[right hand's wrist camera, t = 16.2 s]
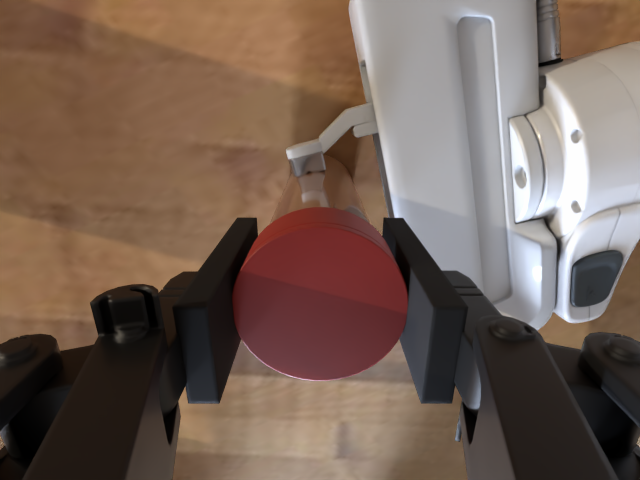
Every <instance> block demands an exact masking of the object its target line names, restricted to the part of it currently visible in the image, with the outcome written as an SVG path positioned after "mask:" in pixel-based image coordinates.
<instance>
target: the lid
mask: <svg viewBox="0 0 640 480" xmlns="http://www.w3.org/2000/svg"><path fill="white" fill-rule="evenodd" d="M232 303H233V314H234V322H235V326H236V329H237V331H238V333H239V336H240V337H241V339H242V341H243V342H244V344H245V345H246V346H247V348H248V349H249V350H250V351H251V352H252V353H253V354H254V355H255V356H256V357H257V358H258V359H259V360H260V361H262V362H263V363H264V364H266V365H267V366H269V367H271V368H272V369H274V370H276V371H278V372H280V373H283V374H285V375H288V376H291V377H294V378H299V379H304V380H313V381H328V380H337V379H341V378H346V377H349V376H352V375H355V374H358V373H360V372H362V371H364V370H366V369H368V368H370V367H371V366H373V365H375V364H376V363H377V362H379V361H380V360H381V359H382V358H384V357H385V356H386V355H387V354H388V353H389V352H390V351H391V349H392V348H393V347H394V345H395V344H396V343H397V341H398V339H399V338H400V336H401V334H402V332H403V329H404V327H405V324H406V318H407V308H408V291H407V286H406V283H405V280H404V278H403V275H402V273H401V271H400V269H399V267H398V265H397V262H396V260H395V258H394V256H393V254H392V252H391V250H390V248H389V246H388V244H387V243H386V241H385V239H384V238H383V237H382V236H381V234H380V233H379V232H378V231H377V230H376V229H375V228H374V227H373V226H372V225H371V224H369V223H368V222H367V221H365V220H364V219H362V218H360V217H358V216H357V215H355V214H352V213H350V212H347V211H344V210H340V209H336V208H328V207H311V208H304V209H300V210H297V211H293V212H291V213H288V214H286V215H283V216H282V217H280V218H278V219H277V220H275V221H274V222H272V223H271V224H270V225H268V226H267V227H266V228H265V229H264V230H263V231H262V232H261V233H260V234H259V236H258V237H257V239H256V240H255V241H254V243H253V245H252V247H251V249H250V251H249V253H248V255H247V257H246V259H245V261H244V263H243V265H242V267H241V269H240V271H239V273H238V275H237V278H236V281H235V284H234V287H233V292H232Z"/></svg>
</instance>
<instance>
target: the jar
mask: <svg viewBox="0 0 640 480" xmlns="http://www.w3.org/2000/svg"><path fill="white" fill-rule="evenodd" d="M324 160H325V164H326V170H323V171H320V172H314V173H312V172H310V171H308V172H307V174H306V175H303V176H300V177H293V173H291V175H290V177H289V179H288V182H287V184H286V187H285V189H284V191H283V194H282V196H281V198H280V201H279V203H278V205H277V208H276V210H275V212H274V215H273V217H272V219H271V222H270V224H271V223H272V222H274V221H275V220H277V219H278V218H280V217H282V216H283V215H286V214H288V213H291V212H293V211H297V210H300V209H304V208H311V207H328V208H336V209H340V210H344V211H347V212H350V213H352V214H355V215H357V216H358V217H360V218H362V219H364V220H365V221H367V222H368V223H369V224H370V221H369V219H368V217H367V214H366V212H365V209H364V207H363V205H362V202H361V200H360V198H359V195H358V193H357V191H356V188H355V186H354V184H353V181H352V179H351V177H350V174H349V172H348V170H347V169H346V167H345V166H344V165H343V164H342V163H341V162H340V161H338V160H337V159H335V158H333V157H331V156H327V155H324ZM270 224H269V225H270Z"/></svg>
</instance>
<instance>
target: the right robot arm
mask: <svg viewBox="0 0 640 480" xmlns="http://www.w3.org/2000/svg"><path fill="white" fill-rule="evenodd" d="M257 237H258V230H257V218H237V219H236V220H235V222H234V223H233V224H232V226H231V227H230V228H229V230H228V231H227V233H226V234H225V235H224V237H223V238H222V239H221V241H220V242H219V243H218V245H217V246H216V248H215V249H214V250H213V252H212V253H211V254H210V256H209V257H208V258H207V260H206V261H205V263H204V264H203V265H202V267H201V268H200V269H199V271H198V272H182V273H180V274H179V275H177V276H175V277H174V278H172V279H170V281H169V282H168V283H167V284H166V285H165V286H164V288H163V290H161V291H160V292H159V293H158V289H156V288H155V287H153V286H150V285H145V284H132V285H127V286H121V287H117V288H114V289H111V290H108V291H106V292H104V293H102V294H100V295H99V296H97V297H96V298H95V299H93V300H92V301H91V302H90V305H91V309H92V312H93V316H94V320H95V324H96V328H97V331H98V335H99V337H98V339H97V340H96V342H95V344H94V345H90V346H85V347H80V348H74V349H69V350H64V351H60V350H59V347H58V344H57V341H56V339H55V338H54V337H52V336H51V335H46V334H35V335H24V336H20V337H19V338H18V337H16V338H13V339H10V340H8V341H7V342H5V343H2V344H0V435H1V437H2V439H3V442H4V444H5V446H4V447H3V448H2V449H1V450H0V480H172V478H173V470H174V463H175V455H176V448H177V440H178V433H179V425H180V418H181V415H180V408H179V403H178V400H179V398H180V396H181V394H182V392H183V390H184V388H185V386H186V392H187V398H188V403H220V400H221V397H222V394H223V391H224V388H225V385H226V382H227V379H228V376H229V373H230V370H231V367H232V364H233V361H234V358H235V355H236V352H237V349H238V346H239V343H240V341H241V337H240V336H239V333H238V331H237V329H236V326H235V322H234V314H233V303H232V292H233V287H234V284H235V281H236V278H237V275H238V273H239V271H240V269H241V267H242V265H243V263H244V261H245V259H246V257H247V255H248V253H249V251H250V249H251V247H252V245H253V243H254V241H255V240H256V239H257ZM382 237H383V238H384V239H385V241H386V243H387V244H388V246H389V248H390V250H391V252H392V254H393V256H394V258H395V260H396V262H397V265H398V267H399V269H400V271H401V273H402V275H403V278H404V280H405V283H406V286H407V291H408V308H407V318H406V324H405V327H404V329H403V332H402V334H401V336H400V338H399V339H400V342H401V345H402V348H403V351H404V354H405V357H406V360H407V363H408V366H409V369H410V372H411V375H412V378H413V381H414V384H415V387H416V390H417V393H418V396H419V399H420V402H421V403H452V400H453V395H454V389H455V385H456V387H457V389H458V391H459V393H460V395H461V397H462V403H461V408H460V414H459V419H458V425H457V430H456V437H455V441H459V442H460V439H461V434H462V440H463V447H464V454H465V462H466V469H467V477H468V480H640V447H639V446H638V445H637V444H636V443H637V441H638V438H639V436H640V342H638V341H636V340H634V339H632V338H630V337H627V336H624V335H623V336H621V335H620V334H615V333H603V332H598V333H590V334H589V335H588V336H586V337H585V339H584V342H583V345H582V349H581V350H580V349H575V348H569V347H564V346H559V345H554V344H549V343H545V342H544V340H543V338H542V336H541V335H540V334H539V332H538V331H537V330H536V329H535V328H533V327H532V326H530V325H529V324H527V323H526V322H523V321H521V320H518V319H515V318H512V317H508V316H503V315H502V314H501V313H500V312H499V311H498V310H497V309H496V308H495V306H494V305H493V304H492V303H491V302H490V301H489V299H488V298H487V297H486V296H484V294H483V293H482V291H481V290H480V289H479V288H477V286H476V284H475V283H474V282H473V281H472V280H471V279H470V278H469V277H467V276H466V275H464V274H462V273H460V272H459V271H457V270H441V269H440V267H439V266H438V265H437V263H436V262H435V261H434V259H433V258H432V257H431V255H430V254H429V252H428V251H427V250H426V248H425V247H424V246H423V244H422V243H421V242H420V240H419V239H418V237H417V236H416V235H415V233H414V232H413V231H412V229H411V228H410V227H409V225H408V224H407V222H406V221H405V220H404V218H384V221H383V236H382Z"/></svg>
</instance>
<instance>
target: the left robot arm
mask: <svg viewBox="0 0 640 480" xmlns="http://www.w3.org/2000/svg"><path fill="white" fill-rule="evenodd" d="M557 2H558V1H557V0H350V3H349V16H350V21H351V26H352V32H353V37H354V42H355V47H356V52H357V57H358V62H359V68H360V73H361V78H362V83H363V88H364V93H365V98H366V104H363V105H359V106H355V107H352V108H348V109H345V110H344V111H343V112H342V113H341V114H340V115H339V116H338V117H337V118H336V119H335V120H334V121H333V122H332V123H331V124H330V125H329V126H328V127H327V128H326V129H325V130H324V131H323V132H322V133H321V134H320V135H319V138H318V139H315V140H311V141H307V142H303V143H299V144H296V145H293V146H290V147H287V149H286V153H287V157H288V160H289V163H290V167H291V170H292V173H293V177H300V176H303V175H306V174H307V172H308V171H310V172H312V173H314V172H320V171H323V170H326V164H325V160H324V155H323V154H324V153H325V152H326V151H327V150H328V149H329V148H330V147H331V146H332V145H333V144H334V143H335V142H336V141H337V140H338V139H339V138H340V137H341V136H342V135H343V134H345V133H346V132H347V131H348V130H349V129H350V130H351V133H352V134H353V135H354V136H355V137H357V138H358V137H362V136H367V135H371V134H373V140H374V145H375V150H376V155H377V160H378V165H379V171H380V176H381V181H382V186H383V191H384V196H385V201H386V207H387V212H388V217H389V218H404V220H405V221H406V222H407V224H408V225H409V227H410V228H411V229H412V231H413V232H414V233H415V235H416V236H417V237H418V239H419V240H420V242H421V243H422V244H423V246H424V247H425V248H426V250H427V251H428V252H429V254H430V255H431V257H432V258H433V259H434V261H435V262H436V263H437V265H438V266H439V267H440V269H441V270H457V271H459V272H460V273H462V274H464V275H466V276H467V277H469V278H470V279H471V280H472V281H473V282H474V283H475V284H476V286H477V288H479V289H480V290H481V291H482V293H483V294H484V296H486V297H487V298H488V299H489V301H490V302H491V303H492V304H493V305H494V306H495V308H496V309H497V310H498V311H499V312H500V313H501V314H502V315H503V316H508V317H512V318H515V319H518V320H521V321H523V322H526V323H527V324H529V325H530V326H532V327H533V328H535V329H536V330H539V329H540V328H541V327H543V326H544V325H545V324H546V323H547V322H548V320H549V319H550V317H551V316H552V313H553V312H554V313H556V314H557V315H558V316H560V317H561V318H563V319H564V320H566V321H567V322H570V323H581V322H587V321H591V320H594V319H596V318H598V317H600V316H601V315H602V314H603V313H604V312H605V310H606V308H607V307H608V304H609V302H610V300H611V297H612V295H613V292H614V290H615V287H616V285H617V283H618V280H619V278H620V276H621V273H622V271H623V269H624V267H625V265H626V263H627V261H628V259H629V257H630V255H631V253H632V251H633V250H634V248H635V246H636V244H637V243H638V241H639V240H640V41H635V42H629V43H625V44H621V45H617V46H613V47H610V48H606V49H602V50H598V51H594V52H591V53H587V54H583V55H580V56H576V57H572V58H568V59H564V60H563V59H561V28H560V17H558V16H559V10H558V4H557Z"/></svg>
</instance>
